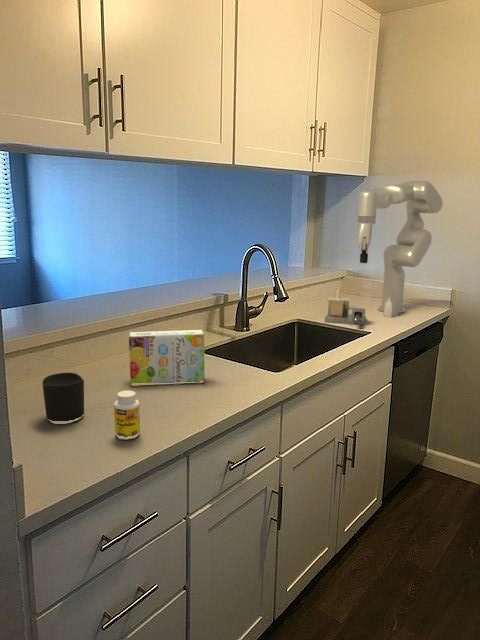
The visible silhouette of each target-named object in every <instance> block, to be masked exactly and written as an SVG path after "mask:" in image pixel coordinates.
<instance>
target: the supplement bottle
mask: <svg viewBox="0 0 480 640" xmlns="http://www.w3.org/2000/svg"><path fill="white" fill-rule="evenodd" d="M116 397H117V400H116V401H115V402H114V404H113V409H114V434H115V433H116V434H117V435H119V436H124V437H128V436H134V435H136V434H138V433H139V432H140V433H141V419H140V418H141V417H140V416H141V415H140V413H141V412H140V409H141V408H140V402H139V401H140V400H138V399H136V398H137V396H136V392H135V391H133V390H122V391H119V392H117V396H116Z"/></svg>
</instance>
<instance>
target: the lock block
mask: <svg viewBox="0 0 480 640" xmlns="http://www.w3.org/2000/svg"><path fill="white" fill-rule="evenodd" d="M342 316H344V301H334V300H333V302H332V303H331V317H342Z"/></svg>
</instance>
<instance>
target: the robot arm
mask: <svg viewBox="0 0 480 640" xmlns="http://www.w3.org/2000/svg"><path fill="white" fill-rule="evenodd" d="M405 202H406V216H407V217H406V221H405V223H404V225H403V226H402V228H401V230H400V231H399V233H398V234H397V236H396V240H395V242H396V244H390V245H388V246H386V248H385V249H384V250H383V262H384V263H383V264H384V266H383V267H384V273H383V285H382V296H381V299H382V300H381V306H378V308H377V309H378V311H380V312H382V313H384V308H385V303H386V301H387V299H388V297H389V296H390V295H393V294H397V298H398V301H399V312H398V314H403V313H405V312H406V308H404V307H403V301H404V290H405V278H406V274H405V270H404V268H403V267H405V268H406V267H408V268H415V267H416V268H417V266H419V265H420V263H421V262H422V260H423V259H424V257H425V256H426V253H428V250H429V248H431V247H430V246H431V244H432V240H433V238H432V233H431V232H430V231H429V230H428V229H424V227H425V223H424V219H423V217H422V216H421V214H438V213H439V212H440V211H442V209H443V203H444V202H443V199H442V196H441V195H440V193H439V192H438V189H436V187H435V186H434V184H433V183H432V182H430V181H429V180H409V181H405V182H402V183H397V184H393V185H392V184H391V185H387V186H382V187H374V188H371V189H367V190H363V191H360V193H359V196H358V211H357V212H358V213H357V224H358V225H359V227H358V228H359V229H358V237H357V238H358V239H357V247H358V248H360V254H359V263H360V264H368V260H369V247H370V245H371V242H372V233H373V225H376V221H377V219H376V217H377V209H379V210H380V209H382V210H383V209H387V208H389V207H390V206H391V205H398V204H401V203H405Z"/></svg>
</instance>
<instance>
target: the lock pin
mask: <svg viewBox="0 0 480 640" xmlns="http://www.w3.org/2000/svg"><path fill="white" fill-rule="evenodd" d="M360 318H362V312H355V318H354V320H353V322H354V324H358V323H359V321H360Z"/></svg>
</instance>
